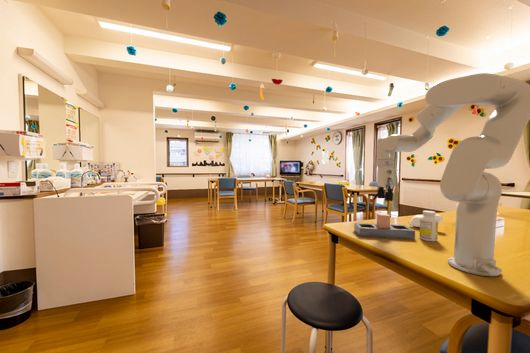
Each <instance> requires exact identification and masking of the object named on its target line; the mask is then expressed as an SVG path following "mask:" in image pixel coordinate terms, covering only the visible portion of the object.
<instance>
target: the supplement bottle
mask: <svg viewBox="0 0 530 353" xmlns="http://www.w3.org/2000/svg"><path fill="white" fill-rule="evenodd" d="M436 214H437V213H436V211H433V210H422V215H423V216H422V217H420V227H419V238H420V239H421V240H422V241H427V242H437V241H438V237H439V236H438V234H439V232H438V231H439V229H438V228H439V223H438V219H437V218H436V217H435V215H436Z"/></svg>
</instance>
